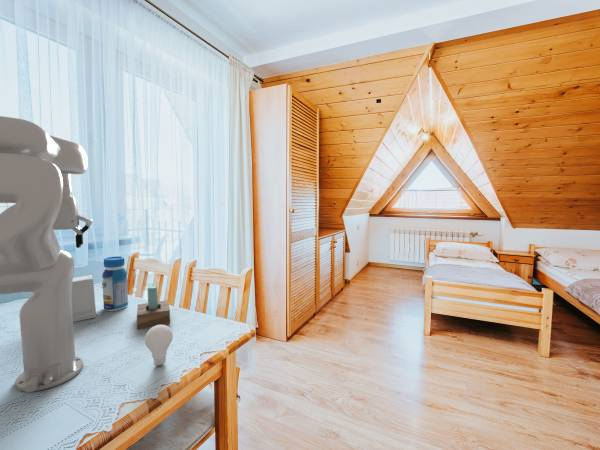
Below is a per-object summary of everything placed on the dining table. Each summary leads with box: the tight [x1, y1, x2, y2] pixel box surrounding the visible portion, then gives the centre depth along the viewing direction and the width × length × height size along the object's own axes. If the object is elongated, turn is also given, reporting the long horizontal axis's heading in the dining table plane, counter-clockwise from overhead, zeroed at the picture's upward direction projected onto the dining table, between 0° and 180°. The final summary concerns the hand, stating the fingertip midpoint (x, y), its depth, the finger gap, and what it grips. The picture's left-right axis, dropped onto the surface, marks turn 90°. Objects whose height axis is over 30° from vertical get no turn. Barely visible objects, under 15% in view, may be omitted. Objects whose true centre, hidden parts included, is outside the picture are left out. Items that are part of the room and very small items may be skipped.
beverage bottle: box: [101, 256, 129, 312], centre depth 111 cm, size 8×8×20 cm
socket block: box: [136, 300, 171, 330], centre depth 101 cm, size 10×10×5 cm
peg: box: [147, 285, 159, 310], centre depth 101 cm, size 3×3×12 cm
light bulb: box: [144, 324, 174, 367], centre depth 75 cm, size 7×7×11 cm
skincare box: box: [72, 274, 97, 323], centre depth 101 cm, size 8×6×15 cm
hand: (58, 248), depth 86 cm, fingers open, 9 cm apart
